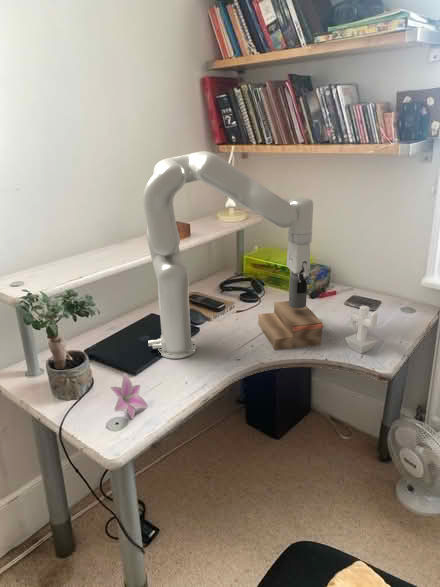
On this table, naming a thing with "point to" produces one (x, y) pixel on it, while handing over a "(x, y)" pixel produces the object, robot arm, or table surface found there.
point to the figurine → (362, 330)
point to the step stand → (291, 326)
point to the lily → (128, 397)
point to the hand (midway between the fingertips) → (298, 288)
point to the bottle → (294, 297)
